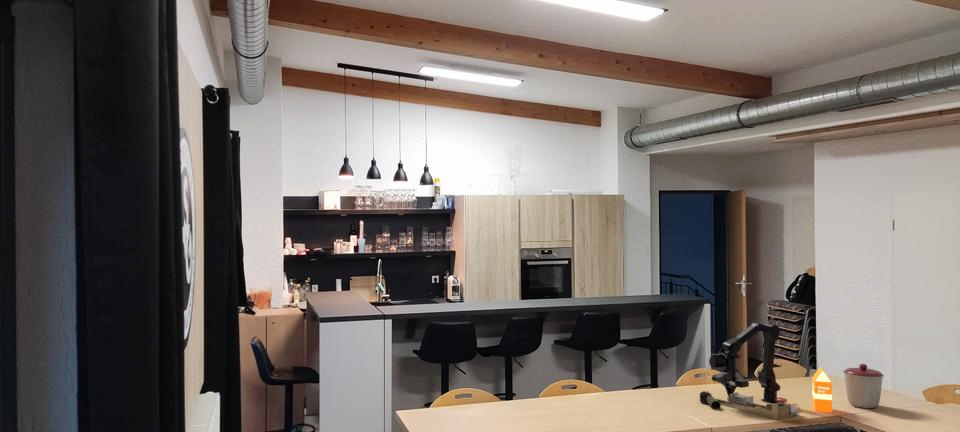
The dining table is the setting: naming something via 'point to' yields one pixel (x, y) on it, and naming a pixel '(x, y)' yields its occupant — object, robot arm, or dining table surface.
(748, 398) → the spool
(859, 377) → the canister
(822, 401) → the orange juice
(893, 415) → the dining table surface
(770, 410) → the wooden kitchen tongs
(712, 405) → the grey brown wooden log
